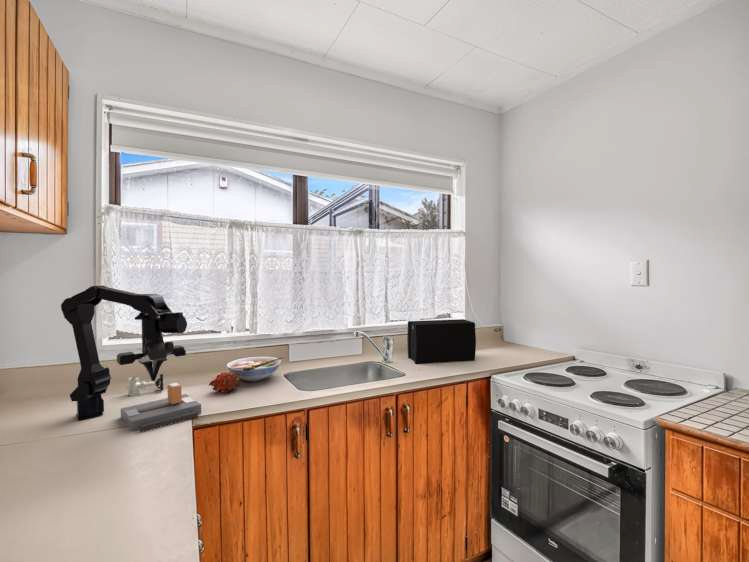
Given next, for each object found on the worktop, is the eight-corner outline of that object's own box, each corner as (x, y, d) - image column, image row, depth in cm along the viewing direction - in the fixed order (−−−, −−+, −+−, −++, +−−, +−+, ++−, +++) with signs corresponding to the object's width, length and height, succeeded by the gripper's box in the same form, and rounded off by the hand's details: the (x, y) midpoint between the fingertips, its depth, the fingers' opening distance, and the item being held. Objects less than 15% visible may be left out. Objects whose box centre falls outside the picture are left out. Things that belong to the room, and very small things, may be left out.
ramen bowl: (255, 369, 180) (254, 352, 179) (293, 374, 170) (293, 357, 170) (212, 383, 157) (212, 364, 157) (254, 391, 147) (253, 370, 147)
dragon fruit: (244, 394, 148) (212, 402, 145) (242, 377, 154) (211, 384, 151) (240, 381, 143) (207, 388, 139) (239, 364, 149) (207, 371, 146)
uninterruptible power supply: (407, 357, 202) (407, 320, 202) (465, 354, 209) (465, 318, 208) (416, 364, 186) (416, 325, 186) (478, 361, 193) (478, 322, 192)
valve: (127, 398, 140) (163, 392, 146) (126, 381, 140) (163, 376, 146) (127, 393, 146) (162, 388, 152) (127, 376, 146) (162, 372, 152)
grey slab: (141, 432, 110) (141, 426, 110) (126, 413, 124) (126, 409, 124) (197, 417, 121) (197, 412, 121) (178, 401, 136) (178, 397, 136)
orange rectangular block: (171, 404, 123) (171, 386, 123) (167, 401, 126) (167, 384, 126) (181, 402, 125) (181, 384, 125) (177, 398, 128) (177, 382, 128)
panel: (131, 431, 111) (130, 420, 110) (120, 417, 121) (120, 407, 121) (201, 413, 124) (201, 403, 124) (186, 402, 135) (186, 393, 135)
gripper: (123, 340, 109) (124, 393, 109) (191, 332, 122) (192, 379, 122) (115, 335, 117) (117, 384, 117) (180, 328, 130) (181, 373, 130)
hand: (153, 380), depth 121 cm, fingers closed
